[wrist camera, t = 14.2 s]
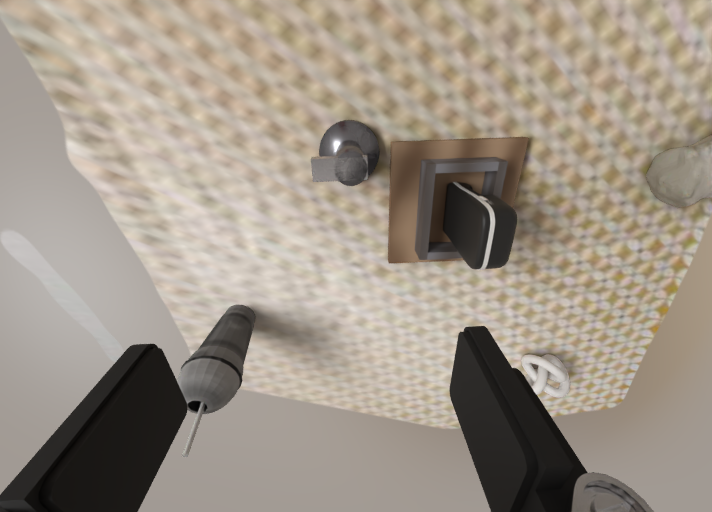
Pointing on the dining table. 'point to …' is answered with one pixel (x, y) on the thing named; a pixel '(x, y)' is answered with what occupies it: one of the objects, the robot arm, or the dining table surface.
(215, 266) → the dining table surface
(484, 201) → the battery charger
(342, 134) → the post
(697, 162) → the ceramic sculpture
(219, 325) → the beverage cup
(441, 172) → the holder
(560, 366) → the knot
